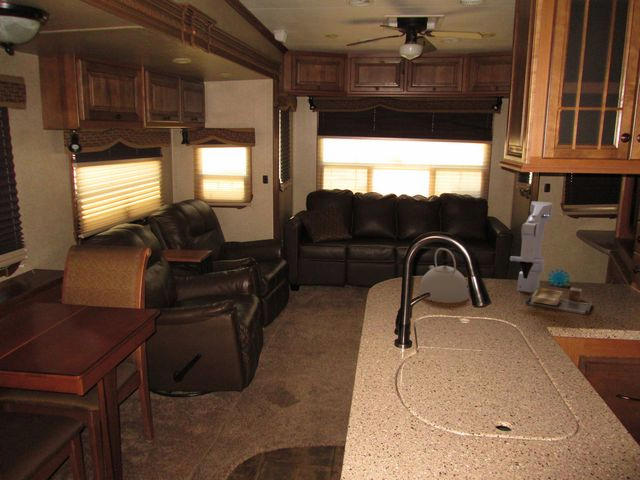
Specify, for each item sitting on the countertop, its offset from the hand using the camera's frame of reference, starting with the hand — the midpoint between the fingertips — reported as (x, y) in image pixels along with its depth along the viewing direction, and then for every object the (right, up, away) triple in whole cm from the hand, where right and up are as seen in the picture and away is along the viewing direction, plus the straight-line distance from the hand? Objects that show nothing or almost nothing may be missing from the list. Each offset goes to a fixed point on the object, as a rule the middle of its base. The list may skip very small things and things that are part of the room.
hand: (525, 278), depth 237 cm
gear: (+27, -6, +24) cm, 36 cm away
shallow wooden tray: (+8, -10, -4) cm, 13 cm away
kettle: (-36, -9, +8) cm, 38 cm away
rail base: (+13, -12, -6) cm, 18 cm away
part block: (+23, -10, +1) cm, 25 cm away
